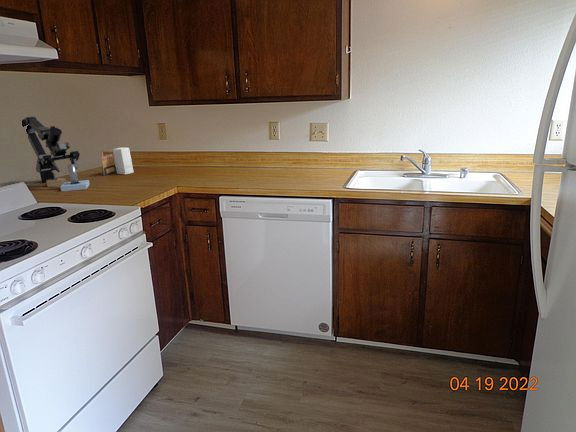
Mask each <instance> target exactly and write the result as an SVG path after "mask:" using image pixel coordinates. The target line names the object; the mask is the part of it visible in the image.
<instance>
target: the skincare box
mask: <svg viewBox="0 0 576 432" xmlns="http://www.w3.org/2000/svg"><path fill="white" fill-rule="evenodd" d="M112 156H113V160H114V164H115V166H116V171H117V173H116V174H117V175H129V174H133V173H134V168H133V167H134V166H133V162H132V161H133V160H132V156H131V151H130V147H117V148H112Z"/></svg>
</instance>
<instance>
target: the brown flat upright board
mask: <svg viewBox="0 0 576 432" xmlns="http://www.w3.org/2000/svg"><path fill="white" fill-rule="evenodd" d="M100 159H101V171H102V176H103V177H107V176H110V175H113V173H114V174H117V169H116V164H115V159H114V155H113V153H109V154H107V155H106V154H105V155H101V158H100Z"/></svg>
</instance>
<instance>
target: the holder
mask: <svg viewBox="0 0 576 432" xmlns="http://www.w3.org/2000/svg"><path fill="white" fill-rule="evenodd" d="M78 182H79V184H71V181H67V182H65V183H64V184H63V185H62V186H61V187H60V191H61V192H68V191H79V190H87V189H88V188H89V186H90V180H89V179H86V180H85V179H84V180H78Z"/></svg>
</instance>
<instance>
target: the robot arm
mask: <svg viewBox="0 0 576 432" xmlns="http://www.w3.org/2000/svg"><path fill="white" fill-rule="evenodd" d="M28 124H29V125H28ZM26 125H28V126H27V129H26V132H27V134H28V138H27V140H28V139H29V140H28V141H29V143H30V145H31V147H32V149H33V151H34V153H35V155H36V158H37V159H36V166H35V170H36V172H37V173H38V174H39V175H40V183H41V184H43V183H45V184H47V181H46V180H49V179H57V178H56V174H55V172H54V171H56V172H58V173H60V169H59V167H58V165H57V164H56V162H55V161H64V160H69V161H70V164H75V167H76V170H77V169H78V164H77V163H78V162H77V161H79V159H80V155H81V154H80V152H79V151H78V150H73V151H69V154H67V150H69V149H70V148H71V146H70V143H69V142H64V143H60V140H61V137H62V132H63V131H62V130H61V129H60V128H59V127H55V126H54V125H53V126H52V125H51V126H50V127H48V126H44V125H43V124H42V123H41V122H40V121H39V120H38V119H37V118H36V116H27V117H25V118H24V119H22V126H23V127H24V126H26ZM36 133H37V134H36ZM41 141H44V142H45V148H48V150H49V151H50V153H46V151H45V149H44V148H43V147H44V146H43V145H42V143H41Z"/></svg>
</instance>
